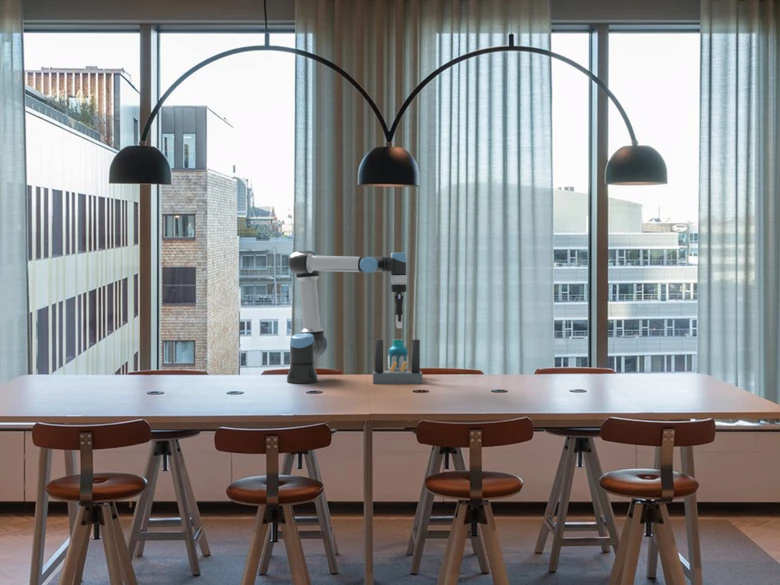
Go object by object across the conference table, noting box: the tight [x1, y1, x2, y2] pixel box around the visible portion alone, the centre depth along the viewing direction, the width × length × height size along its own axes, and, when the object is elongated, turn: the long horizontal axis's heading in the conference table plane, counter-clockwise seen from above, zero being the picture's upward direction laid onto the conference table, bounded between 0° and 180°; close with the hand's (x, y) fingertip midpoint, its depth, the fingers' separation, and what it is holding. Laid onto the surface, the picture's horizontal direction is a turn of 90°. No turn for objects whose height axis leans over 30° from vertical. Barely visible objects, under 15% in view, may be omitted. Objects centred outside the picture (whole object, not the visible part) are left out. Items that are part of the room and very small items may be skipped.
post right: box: [411, 338, 421, 373], centre depth 467 cm, size 4×4×16 cm
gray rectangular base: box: [372, 370, 423, 385], centre depth 467 cm, size 24×10×5 cm, turn 91°
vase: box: [387, 338, 409, 371], centre depth 487 cm, size 11×11×19 cm
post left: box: [374, 339, 384, 373], centre depth 467 cm, size 4×4×16 cm
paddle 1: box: [390, 361, 397, 371], centre depth 467 cm, size 2×3×4 cm, turn 2°
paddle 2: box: [400, 361, 407, 371], centre depth 467 cm, size 2×3×4 cm, turn 2°
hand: (399, 327), depth 466 cm, fingers open, 13 cm apart
